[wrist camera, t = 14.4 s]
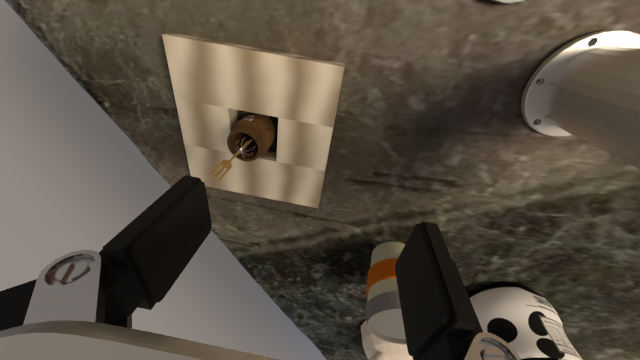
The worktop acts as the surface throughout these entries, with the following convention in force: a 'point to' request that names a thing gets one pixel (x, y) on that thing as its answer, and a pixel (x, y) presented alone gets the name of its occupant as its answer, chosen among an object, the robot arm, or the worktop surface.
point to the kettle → (382, 347)
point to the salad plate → (507, 1)
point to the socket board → (257, 97)
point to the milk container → (523, 322)
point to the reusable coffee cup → (384, 295)
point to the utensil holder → (248, 140)
